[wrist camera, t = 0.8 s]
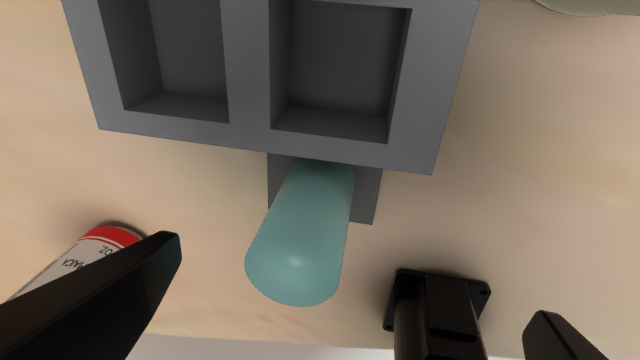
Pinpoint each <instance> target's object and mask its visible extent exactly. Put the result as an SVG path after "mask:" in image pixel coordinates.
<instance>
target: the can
mask: <svg viewBox="0 0 640 360" xmlns="http://www.w3.org/2000/svg"><path fill="white" fill-rule="evenodd" d="M535 1H536V2H537V3H539V4H541V5H543V6H545V7H547V8H549V9H551V10H554V11H557V12H560V13H563V14H568V15H574V16H603V15H611V14H619V15H636V16H640V0H535Z"/></svg>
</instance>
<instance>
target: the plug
mask: <svg viewBox="0 0 640 360" xmlns="http://www.w3.org/2000/svg"><path fill="white" fill-rule="evenodd" d="M354 185H355V174H354V170H353V168H352V166H351V164H346V163H339V162H332V161H324V160H317V159H310V158H303V157H297V159H296V160H295V161H294V163H293V165H292V167H291V169H290V171H289V173H288V174H287V176H286V178H285V180H284V182H283V184H282V186H281V188H280V190H279V192H278V194H277V196H276V198H275V199H274V201H273V203H272V205H271V207H270V209H269V211H268V213H267V215H266V217H265V219H264V221H263V223H262V224H261V226H260V228H259V230H258V232H257V234H256V236H255V238H254V240H253V242H252V244H251V246H250V248H249V249H248V251H247V254H246V256H245V271H246V274H247V276H248V278H249V280H250V281H251V283H252V284H253V285H254V286H255V287H256V288H257V289H258V290H259V291H260V292H261V293H262V294H264V295H265V296H267V297H269V298H270V299H272V300H274V301H277V302H279V303H282V304H286V305H290V306H299V307H305V306H313V305H317V304H320V303H322V302H324V301H326V300H328V299H329V298H330V297H331V296H332V295H333V294H334V293H335V291H336V290H337V287H338V284H339V279H340V273H341V266H342V260H343V254H344V247H345V241H346V235H347V229H348V222H349V216H350V210H351V203H352V197H353V191H354Z"/></svg>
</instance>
